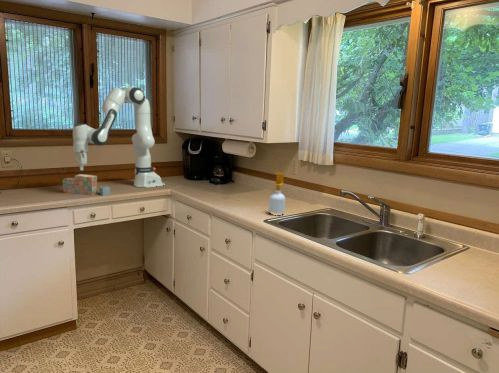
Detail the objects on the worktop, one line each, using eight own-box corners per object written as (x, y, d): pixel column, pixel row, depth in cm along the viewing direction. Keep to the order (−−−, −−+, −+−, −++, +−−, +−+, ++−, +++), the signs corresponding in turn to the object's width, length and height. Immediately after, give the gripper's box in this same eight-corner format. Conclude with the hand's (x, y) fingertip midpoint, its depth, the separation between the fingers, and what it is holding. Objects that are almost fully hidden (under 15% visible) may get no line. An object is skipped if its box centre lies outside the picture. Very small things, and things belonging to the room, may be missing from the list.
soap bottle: (266, 214, 224) (269, 172, 219) (271, 211, 232) (273, 170, 227) (281, 216, 221) (284, 174, 216) (286, 213, 229) (288, 172, 224)
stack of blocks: (62, 192, 256) (61, 174, 254) (68, 191, 262) (67, 173, 260) (92, 195, 252) (91, 176, 250) (97, 193, 258) (97, 175, 256)
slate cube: (106, 193, 260) (106, 185, 259) (110, 194, 257) (109, 186, 256) (99, 194, 256) (99, 186, 255) (102, 195, 253) (102, 187, 252)
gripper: (89, 150, 245) (89, 172, 248) (83, 147, 262) (83, 167, 264) (78, 150, 242) (79, 172, 244) (72, 147, 258) (73, 167, 261)
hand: (81, 169), depth 254 cm, fingers closed
